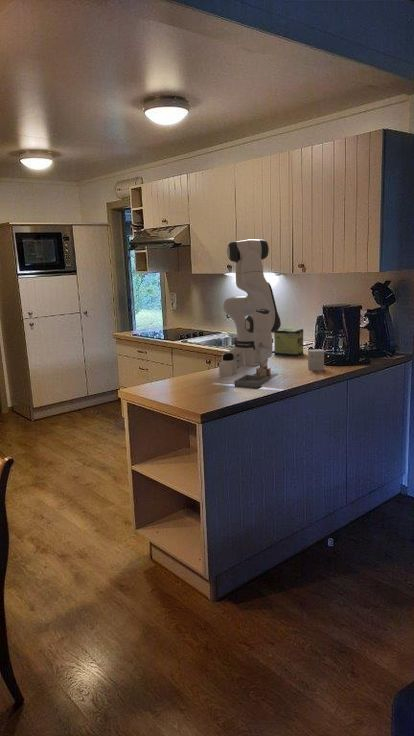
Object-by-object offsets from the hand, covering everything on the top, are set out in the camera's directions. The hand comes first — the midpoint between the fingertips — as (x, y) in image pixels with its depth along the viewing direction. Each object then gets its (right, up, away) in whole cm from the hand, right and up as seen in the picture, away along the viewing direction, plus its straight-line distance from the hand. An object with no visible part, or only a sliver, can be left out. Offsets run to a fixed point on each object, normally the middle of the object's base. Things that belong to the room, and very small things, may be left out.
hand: (263, 368), depth 265 cm
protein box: (+22, +9, +61) cm, 66 cm away
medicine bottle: (-18, -4, +8) cm, 20 cm away
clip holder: (0, -5, +1) cm, 5 cm away
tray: (-7, -8, -12) cm, 16 cm away
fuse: (0, -4, +1) cm, 4 cm away
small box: (+30, -1, +16) cm, 34 cm away
